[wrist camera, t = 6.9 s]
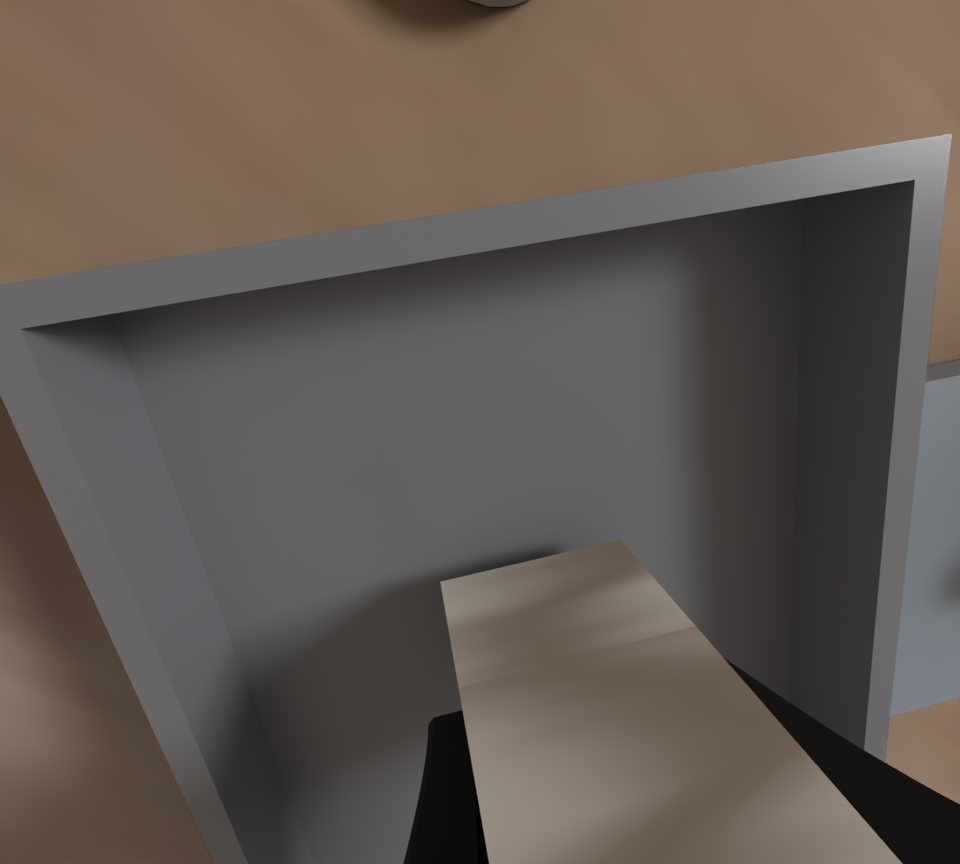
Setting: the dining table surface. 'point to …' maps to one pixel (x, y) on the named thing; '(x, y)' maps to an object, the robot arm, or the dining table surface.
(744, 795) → the beige block
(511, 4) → the remote control
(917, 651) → the stud plate
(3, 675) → the dining table surface
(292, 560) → the bin
